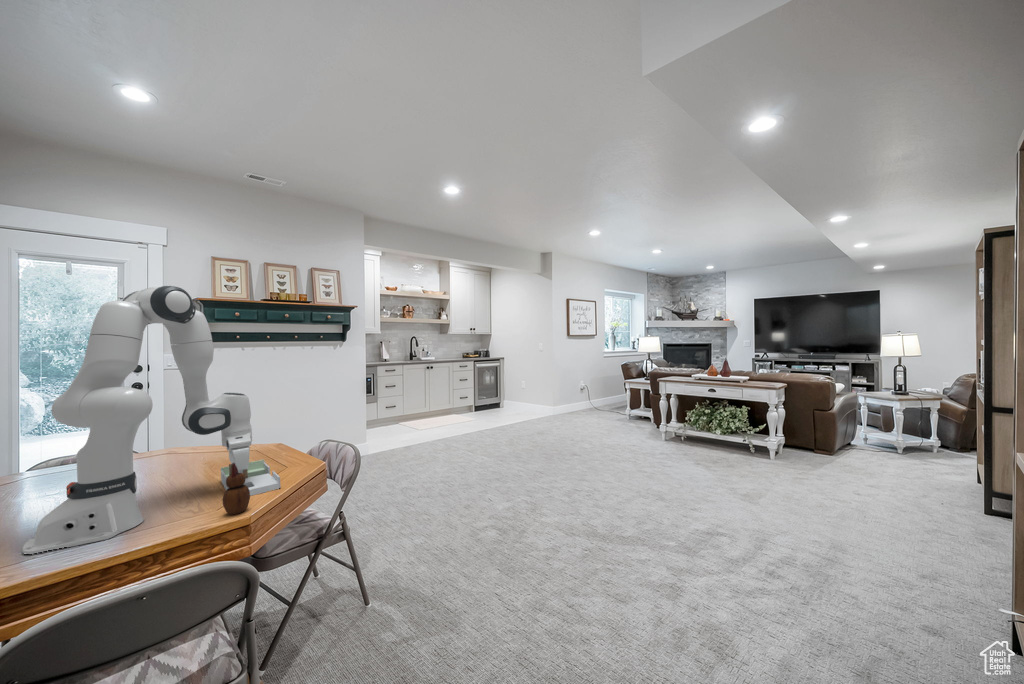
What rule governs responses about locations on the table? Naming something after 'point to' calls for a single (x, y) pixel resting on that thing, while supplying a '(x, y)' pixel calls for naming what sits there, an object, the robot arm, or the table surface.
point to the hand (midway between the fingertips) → (239, 478)
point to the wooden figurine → (236, 493)
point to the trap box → (256, 478)
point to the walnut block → (243, 471)
